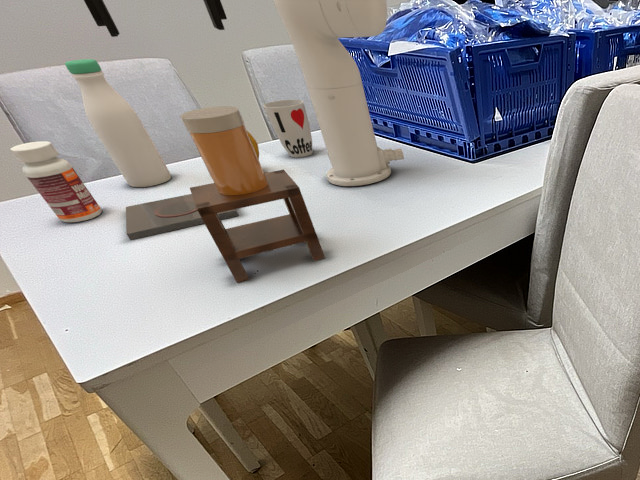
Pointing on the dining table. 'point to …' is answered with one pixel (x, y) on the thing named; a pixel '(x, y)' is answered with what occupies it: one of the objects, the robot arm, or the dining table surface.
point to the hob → (165, 216)
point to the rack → (260, 233)
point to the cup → (291, 126)
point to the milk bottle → (118, 127)
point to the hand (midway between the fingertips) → (169, 32)
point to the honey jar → (226, 149)
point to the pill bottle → (56, 182)
